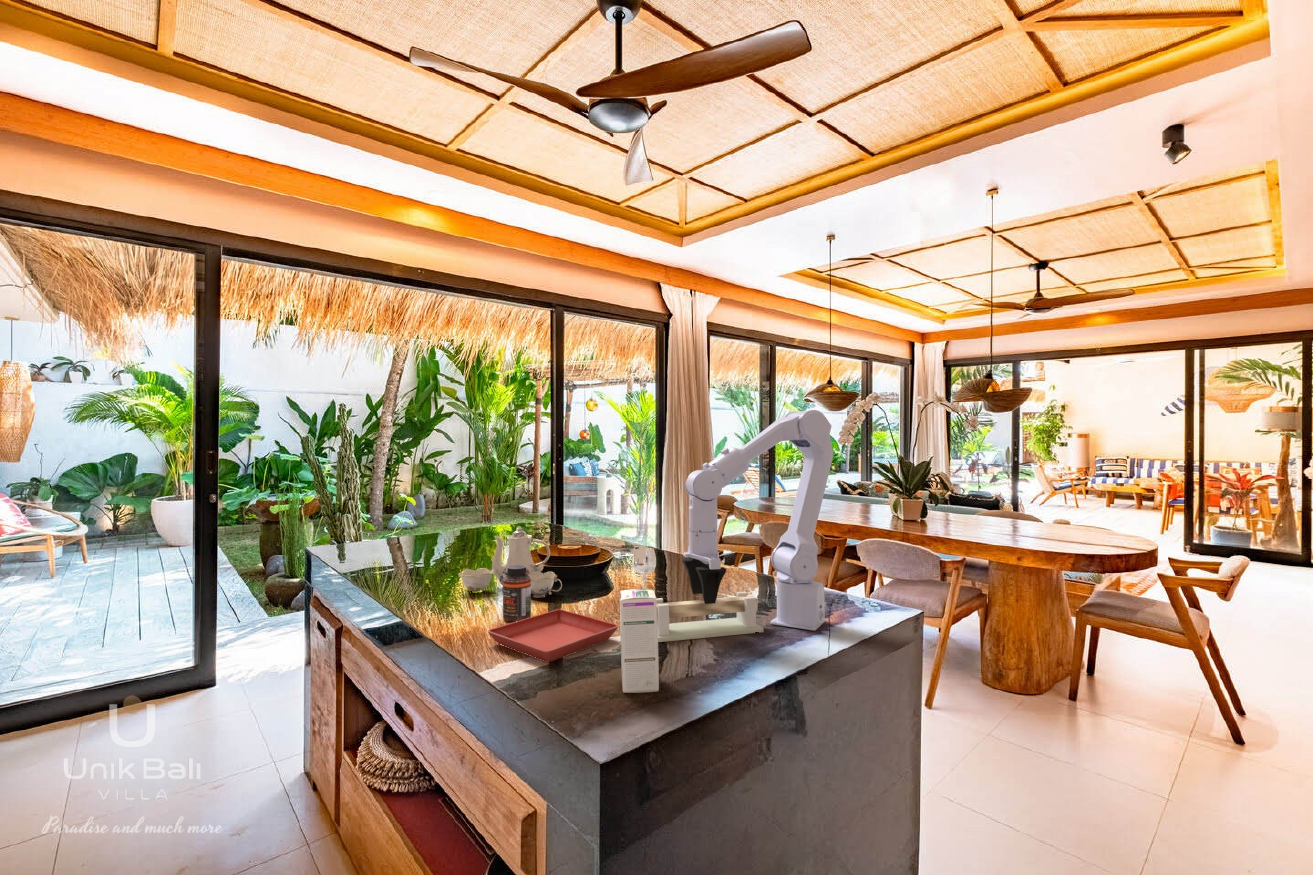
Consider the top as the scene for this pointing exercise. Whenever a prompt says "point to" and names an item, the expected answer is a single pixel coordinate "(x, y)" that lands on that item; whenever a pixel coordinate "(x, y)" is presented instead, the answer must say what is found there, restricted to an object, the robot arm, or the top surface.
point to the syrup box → (639, 641)
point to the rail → (706, 607)
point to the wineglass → (644, 561)
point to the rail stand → (708, 624)
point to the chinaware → (517, 556)
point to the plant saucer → (553, 634)
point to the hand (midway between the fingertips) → (703, 598)
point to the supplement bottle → (516, 594)
